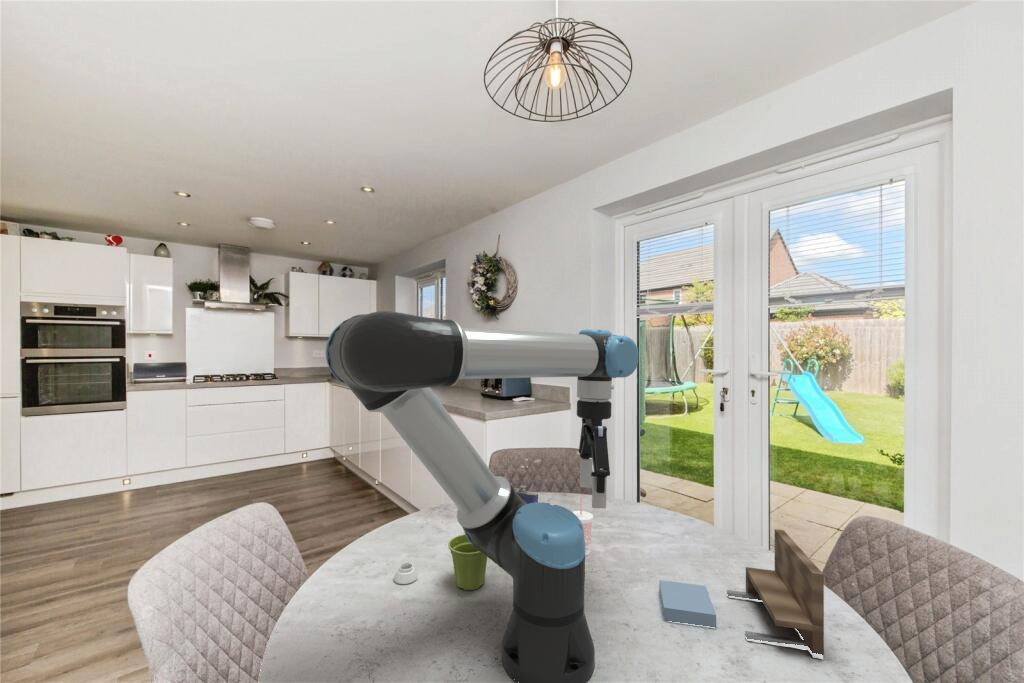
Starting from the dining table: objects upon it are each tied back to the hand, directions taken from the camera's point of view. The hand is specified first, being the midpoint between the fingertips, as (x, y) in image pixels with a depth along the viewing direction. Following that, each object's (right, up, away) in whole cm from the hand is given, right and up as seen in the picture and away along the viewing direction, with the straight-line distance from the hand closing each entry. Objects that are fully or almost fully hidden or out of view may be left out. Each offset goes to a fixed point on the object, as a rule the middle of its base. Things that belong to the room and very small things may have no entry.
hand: (591, 496), depth 95 cm
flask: (-14, -19, +31) cm, 39 cm away
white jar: (-41, -18, 0) cm, 45 cm away
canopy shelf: (+31, -18, -14) cm, 38 cm away
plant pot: (-27, -18, -2) cm, 32 cm away
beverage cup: (0, -19, +13) cm, 23 cm away
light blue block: (+16, -19, -10) cm, 27 cm away
